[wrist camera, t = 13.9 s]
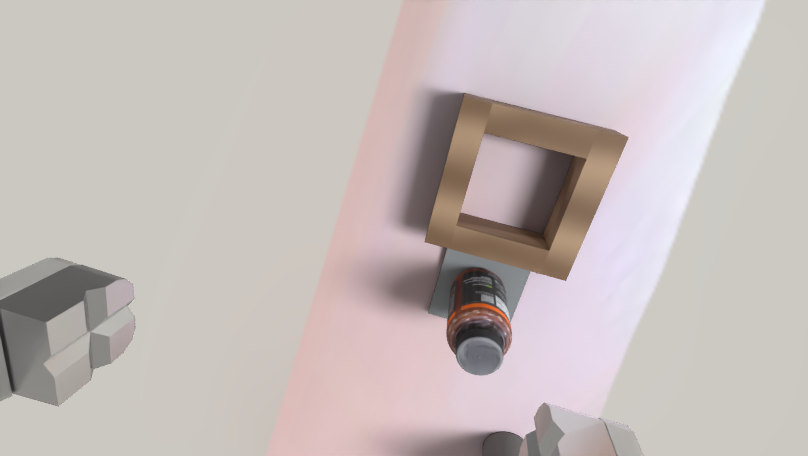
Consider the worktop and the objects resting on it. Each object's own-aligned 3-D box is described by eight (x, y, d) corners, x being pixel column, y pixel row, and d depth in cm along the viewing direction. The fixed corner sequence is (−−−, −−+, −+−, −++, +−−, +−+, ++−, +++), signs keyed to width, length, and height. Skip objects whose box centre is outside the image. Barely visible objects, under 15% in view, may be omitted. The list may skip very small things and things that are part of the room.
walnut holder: (464, 92, 39) (463, 96, 35) (614, 130, 38) (628, 137, 34) (428, 227, 45) (424, 242, 41) (558, 262, 44) (565, 280, 40)
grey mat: (449, 241, 45) (448, 243, 44) (531, 264, 44) (532, 266, 44) (428, 310, 48) (428, 313, 48) (504, 331, 48) (505, 335, 47)
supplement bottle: (458, 317, 47) (453, 389, 37) (444, 272, 46) (434, 333, 35) (511, 308, 46) (521, 380, 35) (498, 260, 44) (506, 322, 34)
